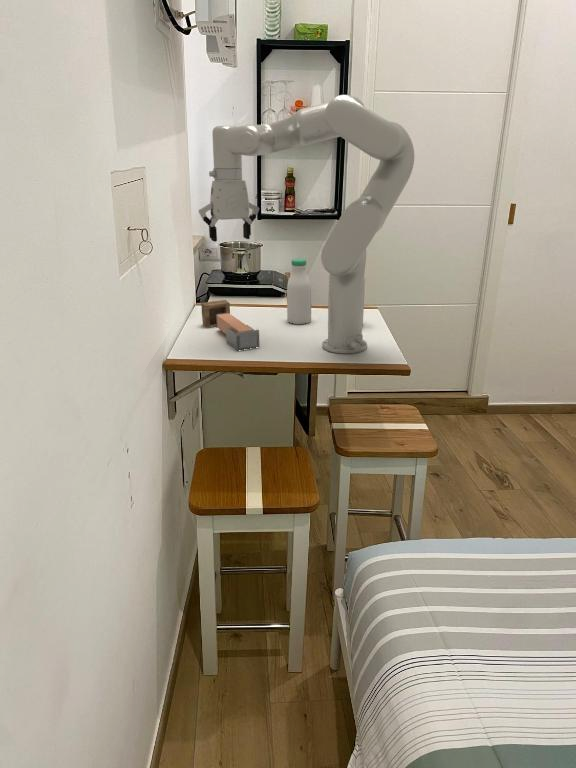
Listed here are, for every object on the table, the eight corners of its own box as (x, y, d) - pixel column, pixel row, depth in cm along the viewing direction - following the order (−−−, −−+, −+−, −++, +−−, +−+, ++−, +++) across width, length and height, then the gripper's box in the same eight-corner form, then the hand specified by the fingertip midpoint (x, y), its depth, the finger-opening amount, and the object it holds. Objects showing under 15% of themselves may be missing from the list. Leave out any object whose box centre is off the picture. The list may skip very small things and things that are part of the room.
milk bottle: (311, 324, 193) (311, 261, 185) (287, 325, 193) (286, 262, 185) (311, 318, 200) (311, 257, 192) (287, 318, 200) (286, 257, 192)
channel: (259, 347, 172) (259, 330, 170) (237, 351, 170) (236, 333, 168) (247, 339, 180) (247, 322, 178) (226, 342, 177) (225, 325, 175)
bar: (253, 343, 172) (253, 329, 171) (240, 345, 171) (239, 331, 169) (229, 325, 189) (228, 312, 188) (216, 327, 188) (216, 314, 186)
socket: (230, 324, 194) (229, 302, 191) (206, 328, 191) (205, 305, 188) (226, 321, 197) (225, 299, 195) (202, 324, 194) (201, 302, 191)
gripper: (201, 177, 158) (204, 243, 164) (263, 175, 164) (264, 239, 171) (193, 175, 164) (196, 239, 171) (252, 173, 171) (254, 235, 177)
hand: (230, 239), depth 171 cm, fingers open, 9 cm apart
